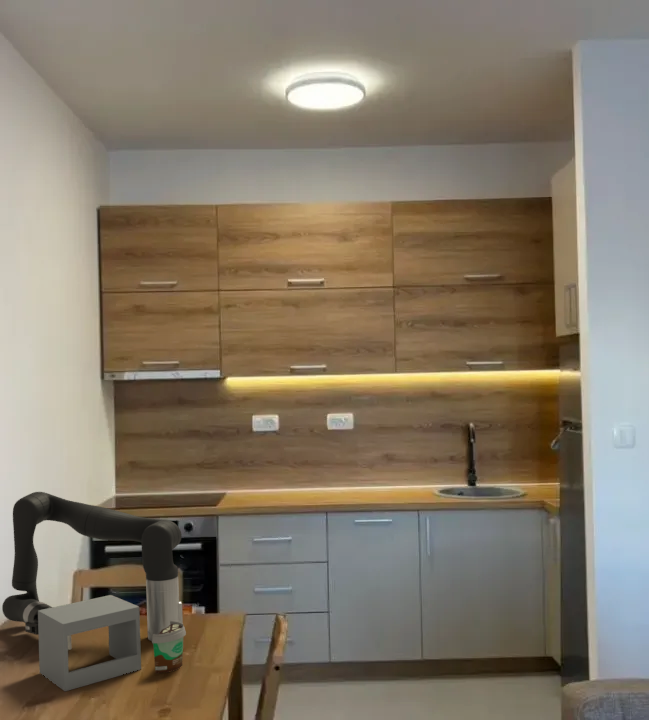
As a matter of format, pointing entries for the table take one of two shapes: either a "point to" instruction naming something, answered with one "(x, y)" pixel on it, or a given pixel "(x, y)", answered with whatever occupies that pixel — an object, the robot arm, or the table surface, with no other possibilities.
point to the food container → (169, 647)
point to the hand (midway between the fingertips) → (62, 629)
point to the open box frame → (88, 617)
